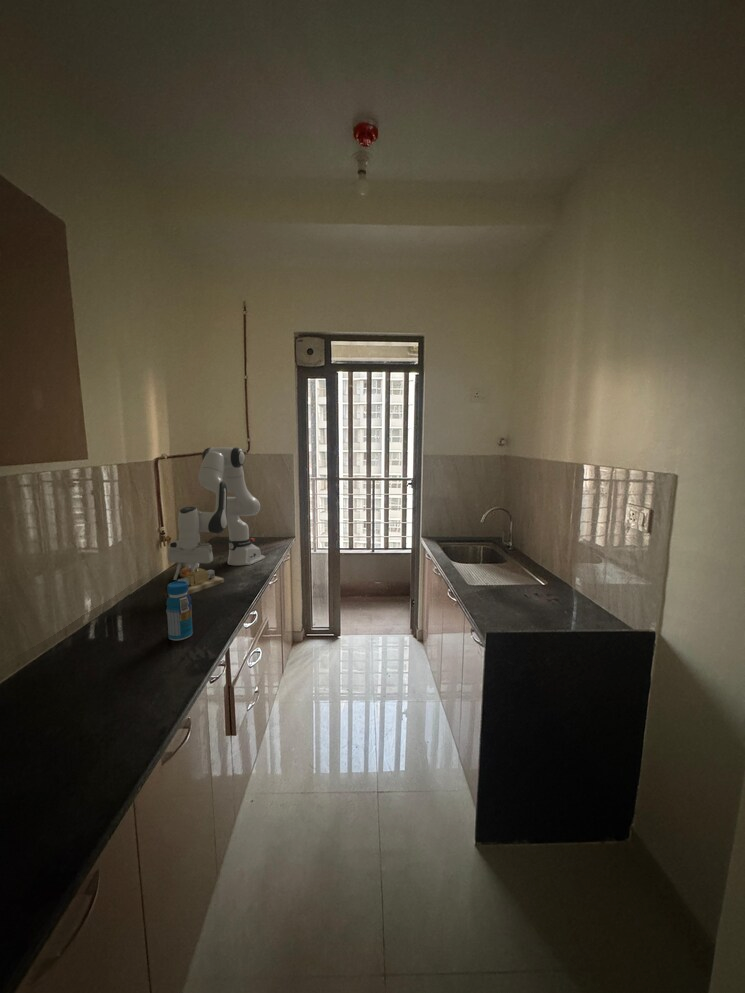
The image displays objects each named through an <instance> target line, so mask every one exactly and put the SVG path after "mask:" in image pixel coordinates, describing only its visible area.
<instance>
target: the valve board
mask: <svg viewBox="0 0 745 993" xmlns="http://www.w3.org/2000/svg"><path fill="white" fill-rule="evenodd" d="M222 583H225V577H220V576H217V575H215V578H214V579H209V580H208V581H206V582H203V583H200V584H197V585H194V586H188V592H187V593H188V595H189V596H190V595H192V594H195V593H198V592H201V591H203V589H204V590H206V589H209V588H212V587H214V586H217V585H220V584H222Z"/></svg>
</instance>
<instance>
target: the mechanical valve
mask: <svg viewBox="0 0 745 993" xmlns="http://www.w3.org/2000/svg"><path fill="white" fill-rule="evenodd" d="M190 566H192V564H191V563H190ZM185 567H186V565H185V563H179V562H177V564H176V569H175V572H174V576H173V579H171V580H170V581H169V582H168V584H170V583H172V582H176V581H178V576H179V577H180V578H181V579H182V578H185V576H181V570H182V569H183V568H185ZM198 568H200V566H199V567H198Z"/></svg>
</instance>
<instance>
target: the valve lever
mask: <svg viewBox="0 0 745 993" xmlns="http://www.w3.org/2000/svg"><path fill="white" fill-rule="evenodd" d="M192 566H193V565H192ZM192 566H191V567H192ZM196 567H199V568H200V563H197V564H196V566H195V568H196ZM191 573H192V572H188V568H187V567H185V568H183V569H182V570H181V576H188V575H190V574H191ZM181 576H180V577H181Z"/></svg>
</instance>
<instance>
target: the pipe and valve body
mask: <svg viewBox="0 0 745 993" xmlns="http://www.w3.org/2000/svg"><path fill="white" fill-rule="evenodd" d="M215 576H216V575H215V569H214V570H213V569H208V570H206V569H204V568H200V567H199V568H198V567H196V568H195V571H194V572H192V573H191V574H190V575H188V576H185V578H182V577H181V578H178V579H177V581H186V582H187V583H188V586H194V585H197V584H200V583H203V582H206V581H208V580H209V579H214V578H215Z"/></svg>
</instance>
